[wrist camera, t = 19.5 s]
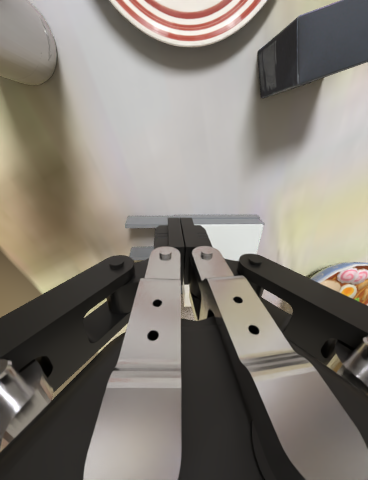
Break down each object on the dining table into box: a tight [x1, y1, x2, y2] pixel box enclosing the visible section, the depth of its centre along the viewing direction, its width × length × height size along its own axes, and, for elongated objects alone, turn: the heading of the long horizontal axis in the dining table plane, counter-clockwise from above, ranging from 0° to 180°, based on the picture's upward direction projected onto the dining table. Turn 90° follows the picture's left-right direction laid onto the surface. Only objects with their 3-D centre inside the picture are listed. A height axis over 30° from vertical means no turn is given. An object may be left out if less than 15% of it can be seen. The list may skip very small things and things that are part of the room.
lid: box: [194, 224, 264, 261], centre depth 38 cm, size 16×8×4 cm, turn 88°
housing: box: [125, 215, 264, 294], centre depth 42 cm, size 27×20×8 cm
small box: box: [258, 0, 368, 98], centre depth 26 cm, size 11×6×10 cm, turn 107°
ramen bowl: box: [310, 262, 368, 306], centre depth 51 cm, size 25×23×8 cm
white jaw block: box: [182, 281, 191, 307], centre depth 44 cm, size 4×4×7 cm
